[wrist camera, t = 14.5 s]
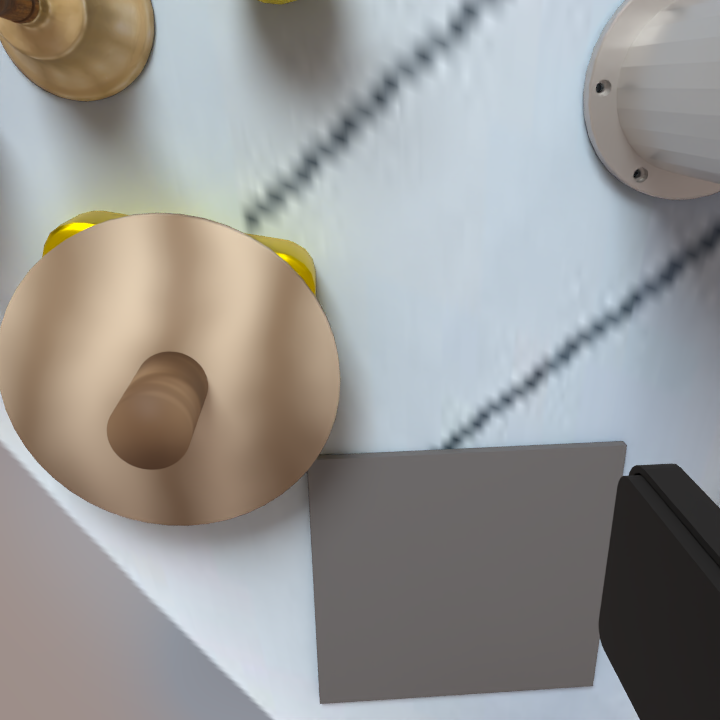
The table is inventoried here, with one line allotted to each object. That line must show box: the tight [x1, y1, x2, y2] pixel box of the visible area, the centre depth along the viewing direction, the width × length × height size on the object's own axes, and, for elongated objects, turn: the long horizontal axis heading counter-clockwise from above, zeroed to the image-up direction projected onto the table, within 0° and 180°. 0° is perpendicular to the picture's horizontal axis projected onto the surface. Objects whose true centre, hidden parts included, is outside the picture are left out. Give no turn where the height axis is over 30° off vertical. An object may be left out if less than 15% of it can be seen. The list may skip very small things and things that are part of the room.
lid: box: [0, 213, 340, 526], centre depth 37 cm, size 19×19×7 cm
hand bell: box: [0, 0, 154, 101], centre depth 29 cm, size 8×8×16 cm
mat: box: [308, 441, 627, 704], centre depth 51 cm, size 22×22×1 cm
